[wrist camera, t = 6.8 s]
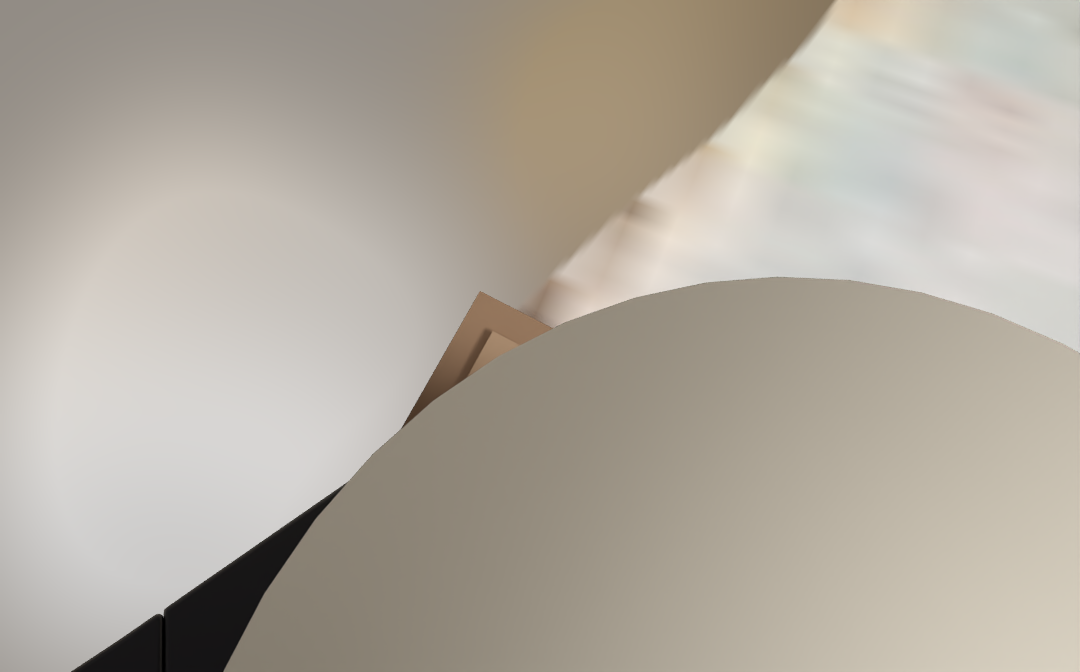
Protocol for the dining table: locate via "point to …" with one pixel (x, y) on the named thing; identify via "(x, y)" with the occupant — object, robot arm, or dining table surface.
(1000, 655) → the tin
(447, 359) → the stand
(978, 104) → the dining table surface
